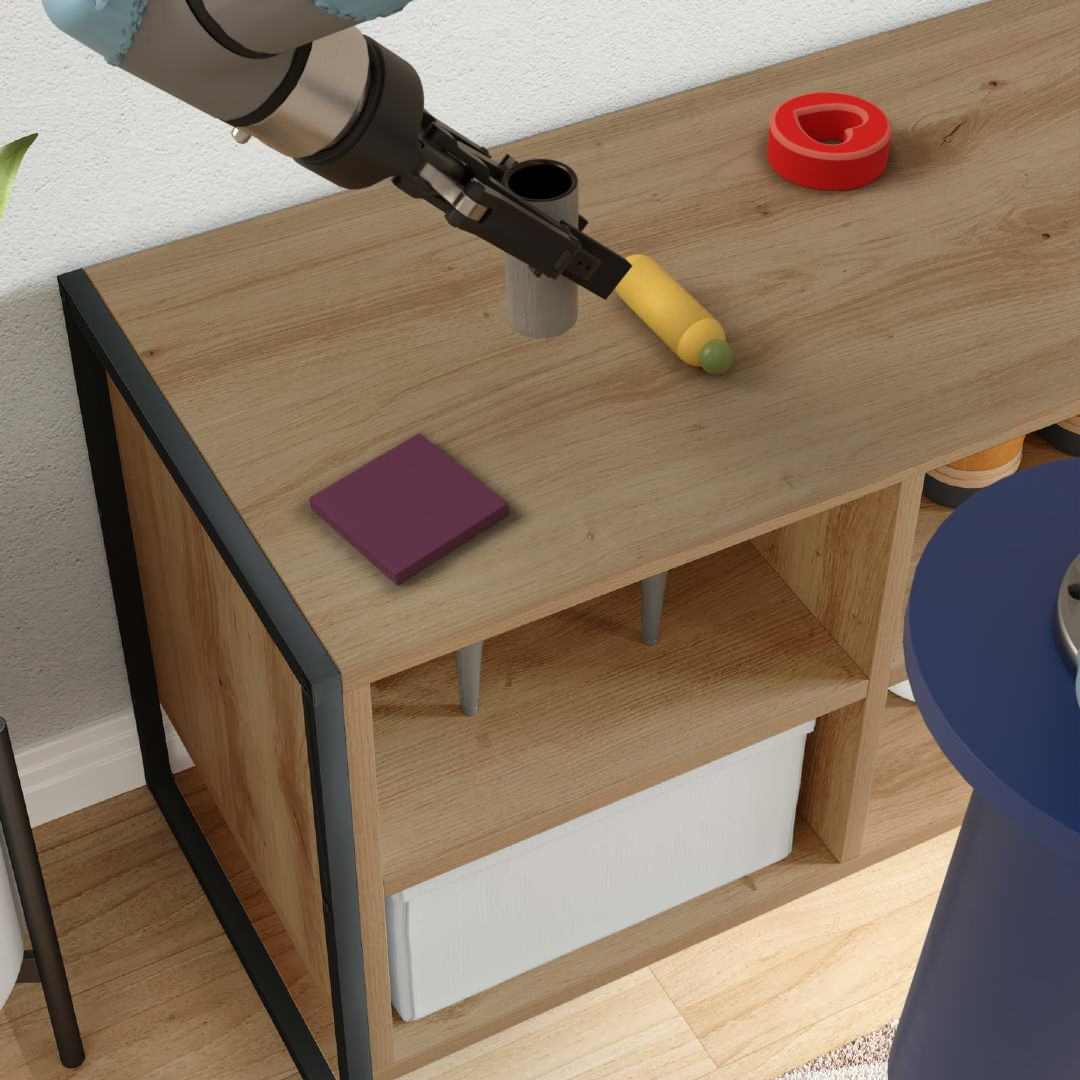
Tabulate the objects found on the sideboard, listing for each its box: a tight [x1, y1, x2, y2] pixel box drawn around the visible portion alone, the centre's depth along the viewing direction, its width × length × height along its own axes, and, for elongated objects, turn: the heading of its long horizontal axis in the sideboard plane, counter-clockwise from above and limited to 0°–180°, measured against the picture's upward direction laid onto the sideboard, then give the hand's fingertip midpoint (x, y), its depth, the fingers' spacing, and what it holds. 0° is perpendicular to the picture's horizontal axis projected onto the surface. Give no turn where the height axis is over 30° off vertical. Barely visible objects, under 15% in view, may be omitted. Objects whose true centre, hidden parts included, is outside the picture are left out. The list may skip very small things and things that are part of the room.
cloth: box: [308, 432, 509, 586], centre depth 100 cm, size 9×9×1 cm
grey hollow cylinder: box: [502, 158, 579, 339], centre depth 97 cm, size 4×4×10 cm
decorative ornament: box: [766, 91, 893, 191], centre depth 126 cm, size 10×10×3 cm
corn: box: [614, 253, 734, 375], centre depth 111 cm, size 13×4×4 cm, turn 30°
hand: (593, 257), depth 99 cm, fingers closed on grey hollow cylinder, 5 cm apart
